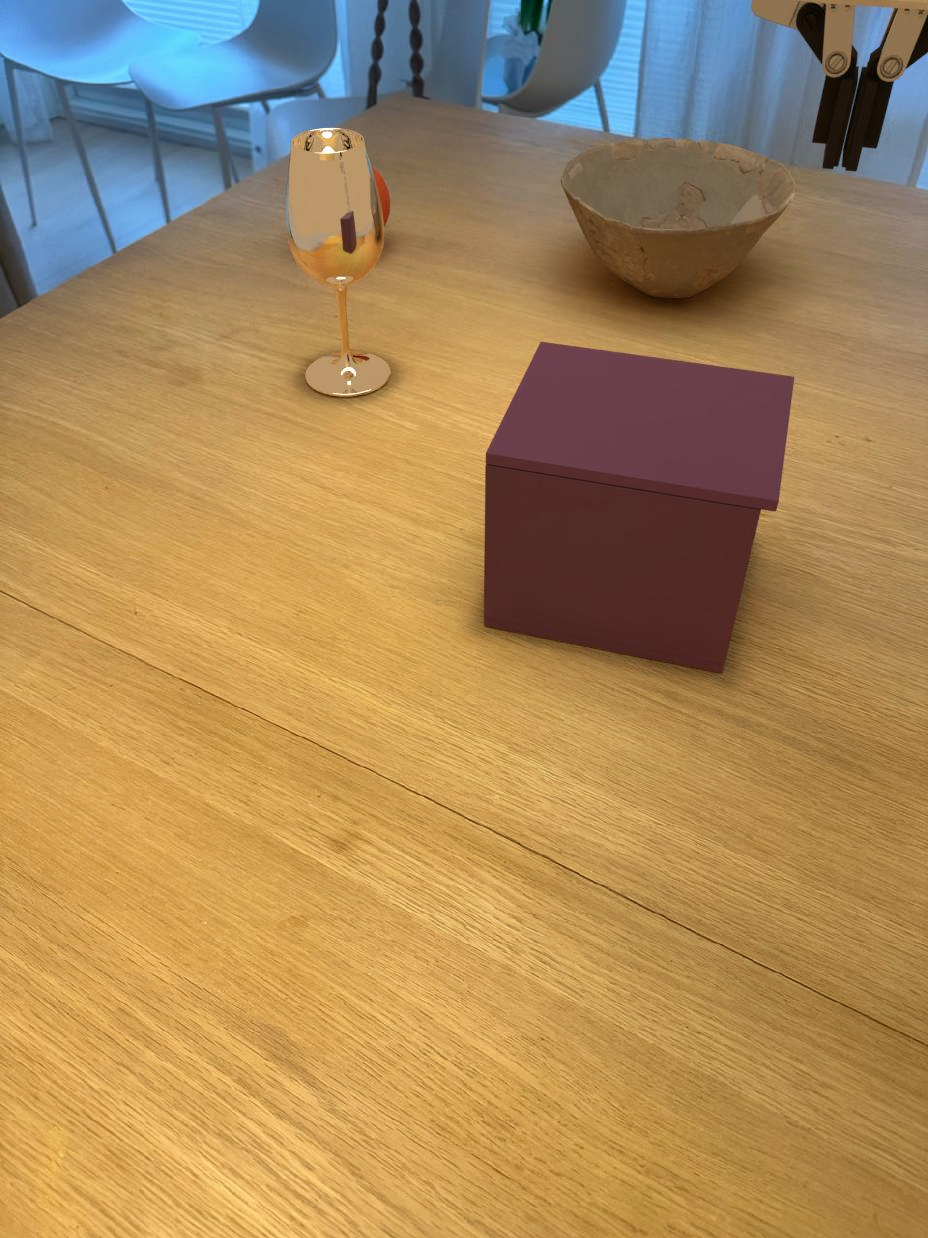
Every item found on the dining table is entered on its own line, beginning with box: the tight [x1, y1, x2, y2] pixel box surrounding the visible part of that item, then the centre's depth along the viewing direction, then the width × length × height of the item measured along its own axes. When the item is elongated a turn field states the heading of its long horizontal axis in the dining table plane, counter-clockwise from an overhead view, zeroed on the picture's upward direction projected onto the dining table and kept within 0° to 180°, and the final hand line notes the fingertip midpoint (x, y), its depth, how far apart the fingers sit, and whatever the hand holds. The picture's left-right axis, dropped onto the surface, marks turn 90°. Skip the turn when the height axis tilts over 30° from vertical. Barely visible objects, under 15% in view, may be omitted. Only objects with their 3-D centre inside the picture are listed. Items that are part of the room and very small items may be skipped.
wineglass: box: [285, 127, 392, 398], centre depth 86 cm, size 8×8×20 cm
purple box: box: [483, 463, 762, 674], centre depth 68 cm, size 16×14×13 cm
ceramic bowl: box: [560, 137, 798, 299], centre depth 104 cm, size 22×23×10 cm
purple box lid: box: [485, 341, 795, 512], centre depth 63 cm, size 16×14×1 cm
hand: (840, 159), depth 51 cm, fingers closed
